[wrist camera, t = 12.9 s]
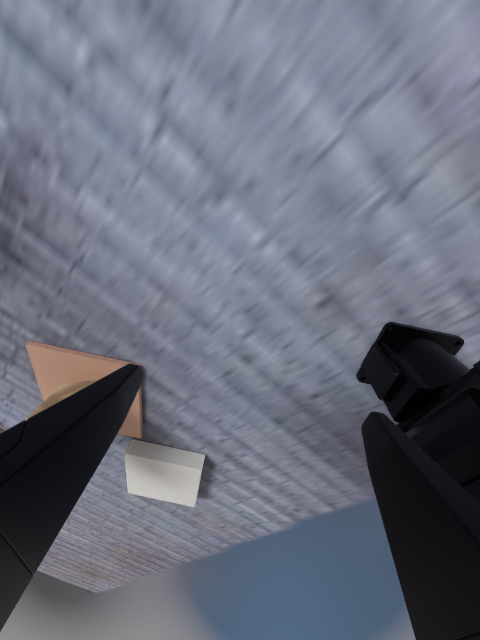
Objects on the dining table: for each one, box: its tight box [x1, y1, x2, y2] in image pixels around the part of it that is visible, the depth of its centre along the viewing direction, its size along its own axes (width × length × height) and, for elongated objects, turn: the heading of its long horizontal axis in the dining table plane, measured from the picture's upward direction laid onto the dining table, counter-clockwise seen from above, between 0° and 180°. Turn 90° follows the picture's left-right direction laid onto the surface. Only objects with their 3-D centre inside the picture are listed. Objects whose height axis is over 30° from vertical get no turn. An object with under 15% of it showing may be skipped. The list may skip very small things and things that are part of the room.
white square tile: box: [124, 439, 205, 507], centre depth 33 cm, size 10×10×2 cm
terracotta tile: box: [25, 341, 143, 439], centre depth 28 cm, size 12×12×1 cm
